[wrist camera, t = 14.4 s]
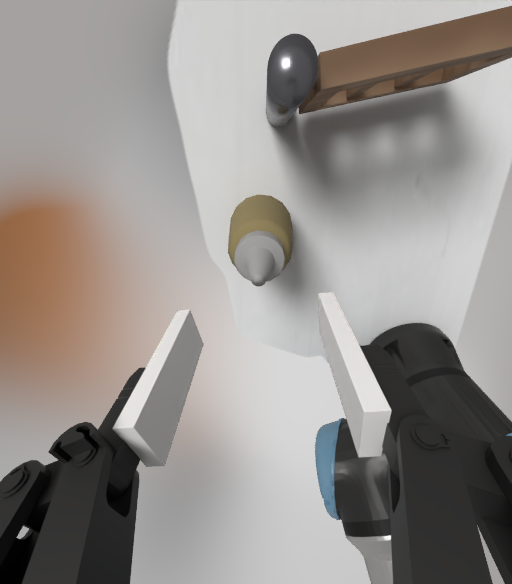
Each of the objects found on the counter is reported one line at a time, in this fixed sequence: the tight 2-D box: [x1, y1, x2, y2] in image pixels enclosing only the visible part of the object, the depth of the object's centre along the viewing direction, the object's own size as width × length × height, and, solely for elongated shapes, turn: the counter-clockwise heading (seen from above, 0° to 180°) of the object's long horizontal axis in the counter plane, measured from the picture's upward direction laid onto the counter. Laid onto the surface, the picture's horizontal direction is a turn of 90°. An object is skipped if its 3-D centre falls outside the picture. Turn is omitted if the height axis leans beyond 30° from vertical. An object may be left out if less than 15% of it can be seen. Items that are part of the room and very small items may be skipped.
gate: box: [299, 6, 512, 114], centre depth 19 cm, size 2×15×11 cm, turn 100°
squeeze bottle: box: [228, 195, 292, 286], centre depth 25 cm, size 8×8×18 cm
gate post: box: [266, 34, 318, 127], centre depth 20 cm, size 3×3×15 cm
